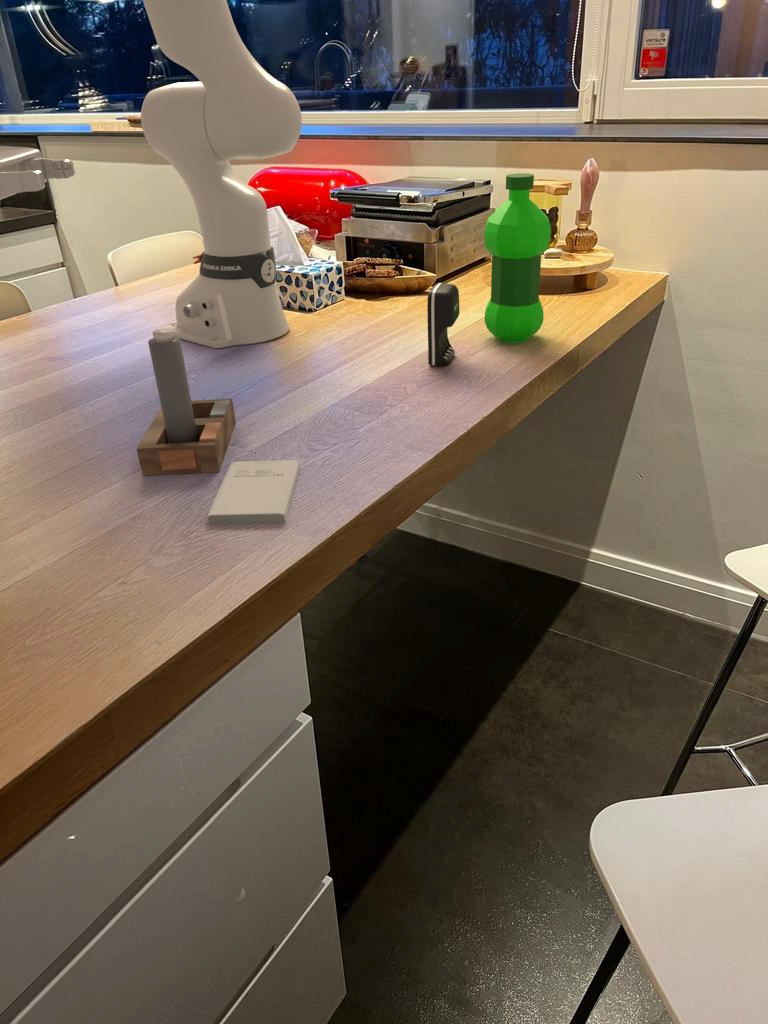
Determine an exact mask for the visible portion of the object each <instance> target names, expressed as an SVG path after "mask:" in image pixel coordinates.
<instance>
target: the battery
mask: <svg viewBox="0 0 768 1024" xmlns="http://www.w3.org/2000/svg"><path fill="white" fill-rule="evenodd" d="M426 305H427V311H426V312H427V347H428V350H427V353H428V354H427V355H428V356H427V357H428V358H427V360H428V361H427V362H428V365H429V366H432V367H433V366H434V367H435V366H448V365H450V363H451V362H452V360H453V358H454V356H455V354H456V352H455V351H456V350H455V349H454V348H453V346H452V345H451V343H450V340H449V337H448V333H449V332H448V328H450V327H453V325H455V323H456V321H457V319H459V316H460V292H459V288H458V287H457V286H456V285H455V284H454V283H453V284H452V283H442V282H438V283H436V284H434V285H433V286H432V287H431V289H430V290H429V291H428V293H427V304H426Z"/></svg>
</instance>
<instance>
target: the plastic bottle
mask: <svg viewBox="0 0 768 1024" xmlns="http://www.w3.org/2000/svg"><path fill="white" fill-rule="evenodd" d="M534 181H535V175H534V174H533V173H527V172H526V173H522V172H521V173H520V172H518V173H509V174H505V190H508V198H507V200H506V201H505V202H504V203H503V204H502V205H500V206H499V207H497V209H496V210H495V211H494V212H493V213H492V214H491V215H490V216H489V217H488V219H487V221H486V224H485V227H484V238H483V239H484V245H485V249H486V250H487V251H488V253H489V254H490V255H491V277H490V278H491V282H490V283H491V284H490V286H491V287H490V298H489V300H488V301H487V305H486V306H485V312H484V325H485V327H486V329H487V330H488V331H489V333H490V334H492V335H493V336H494V337H495V338H497V340H498V341H500V342H502V343H507V344H517V343H518V344H519V343H524V342H526V341H528V340H529V339H530V338H531V337H533V336H534V335H535V334H537V333H538V331H539V330H540V329H541V328H542V325H543V323H544V309H543V304H542V302H541V300H540V299H541V298H540V284H541V283H540V281H541V267H542V266H541V265H542V255H543V254H544V253H545V252H546V251H547V250H548V249H549V246H550V242H551V239H552V238H551V236H552V227H551V223H550V218H549V217H548V215H546V213H545V212H544V211H542V209H541V208H540V207H539V206H538V205H537V204H536V203H535V202H534V201H532V199H531V198H530V194H531V193H530V190H532V189H534V183H535V182H534Z"/></svg>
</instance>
